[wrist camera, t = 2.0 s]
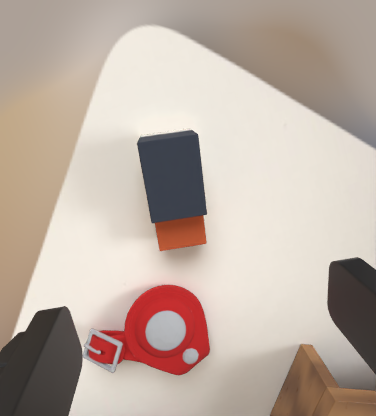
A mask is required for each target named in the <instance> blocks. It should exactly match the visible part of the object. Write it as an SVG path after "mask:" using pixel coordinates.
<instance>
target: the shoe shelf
mask: <svg viewBox="0 0 376 416" xmlns="http://www.w3.org/2000/svg"><path fill="white" fill-rule="evenodd" d="M270 416H376V391H372V390H359V389H347V388H339V386H338V384H337V383H336V381H335V380H334V378H333V377H332V375H331V373H330V372H329V370H328V369H327V367H326V366H325V364H324V363H323V361H322V360H321V358H320V356H319V355H318V353H317V352H316V350H315V349H314V347H313V346H312V345H305V344H301V345H300V348H299V350H298V352H297V355H296V357H295V359H294V362H293V364H292V366H291V368H290V371H289V373H288V375H287V378H286V380H285V382H284V385H283V387H282V389H281V391H280V394H279V396H278V398H277V401H276V403H275V405H274V407H273V410H272V412H271V414H270Z"/></svg>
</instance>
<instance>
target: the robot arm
mask: <svg viewBox="0 0 376 416" xmlns="http://www.w3.org/2000/svg"><path fill="white" fill-rule="evenodd" d="M327 303H328V310H329V313H330V316H331V318H332V320H333V322H334V323H335V325H336V326H337V327H338V328H339V330H340V331H341V332H342V333H343V335H344V336H345V337H346V338H347V339H348V341H349V342H350V343H351V344H352V346H353V347H354V348H355V349H356V351H357V352H358V353H359V354H360V355H361V357H362V358H363V359H364V360H365V362H366V363H367V364H368V365H369V367H370V368H371V369H372V370H373V372H374V373H375V374H376V270H375V269H374V268H373V267H371V266H370V265H369V264H368V263H366V262H365V261H364V260H362V259H361V258H357V257H356V258H350V259H344V260H338V261H333V262H331V264H330V266H329V281H328V301H327ZM81 368H82V348H81V344H80V341H79V338H78V335H77V332H76V329H75V326H74V323H73V320H72V317H71V314H70V311H69V309H68V308H67V307H65V306H64V307H59V308H53V309H47V310H41V311H38V312H37V313H36V314H35V315H34V317H33V319H32V321H31V322H30V324H29V326H28V328H27V329H26V331H25V332H20V333H18V334H17V335H16V336H15V337H14V338H13V339H12V340H11V341H10V342H9V343H8V344H7V345H6V346H5V347H4V348H2V350H1V352H0V416H68V415H69V411H70V408H71V404H72V401H73V397H74V394H75V390H76V386H77V383H78V379H79V376H80V372H81Z"/></svg>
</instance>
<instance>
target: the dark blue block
mask: <svg viewBox="0 0 376 416" xmlns="http://www.w3.org/2000/svg"><path fill="white" fill-rule="evenodd" d="M137 145H138V151H139V156H140V162H141V167H142V173H143V178H144V184H145V189H146V194H147V200H148V205H149V211H150V216H151V222H152V223H155V227H156V233H157V238H158V244H159V249H160V251H164V250H170V249H176V248H182V247H189V246H195V245H201V244H206V235H205V226H204V217H203V215H207V210H206V201H205V192H204V183H203V174H202V165H201V156H200V147H199V138H198V134H197V133H195V132H194V131H193V130H191V129H182V130H175V131H168V132H160V133H153V134H146V135H141V136H140V138H139V140H138V143H137Z"/></svg>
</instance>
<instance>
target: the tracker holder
mask: <svg viewBox="0 0 376 416" xmlns="http://www.w3.org/2000/svg"><path fill="white" fill-rule="evenodd" d="M84 347H85V349H84V352H83V358H85V359H87V360H89V361H91V362H93V363H95V364H97V365H98V366H100V367H102V368H104V369H106V370H108V371H110V372H112V373H113V372H115V370H116V366H117V364H119V363H120V362H121V361H122V360H123V359H124V360H132V361H137V362H141V363H144V364H147V365H149V366H151V367H154V368H156V369H159V370H162V371H165V372H168V373H171V374H175V375H182V374H185V373H187V372H188V371H190V370H191V369H192V368H193V367H194V366H195V365H196V364H198V363H199V362H200V361H201V360H202V359H204V358H205V357H206V356H207V355H208V354H209V352H210V347H209V339H208V332H207V324H206V320H205V315H204V312H203V309H202V306H201V304H200V302H199V300H198V299H197V297H196V296H195V295H194V294H192V293H191V292H190V291H188V290H186V289H185V288H182V287H179V286H175V285H162V286H157V287H154V288H152V289H150V290H148V291H146V292H145V293H143V294H142V295H141V296H140V297H139V298H138V299H137V300H136V301H135V302H134V304H133V305H132V306H131V308H130V310H129V312H128V314H127V317H126V321H125V330H124V331H106V330H103V331H97V330H95V329H91V330H90V332H89V336H88V339H87V342H86V343H85V344H84ZM106 363H107V364H106ZM108 364H113V365H112V366H110V365H108Z"/></svg>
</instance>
